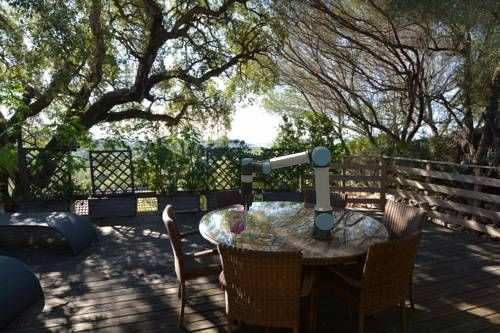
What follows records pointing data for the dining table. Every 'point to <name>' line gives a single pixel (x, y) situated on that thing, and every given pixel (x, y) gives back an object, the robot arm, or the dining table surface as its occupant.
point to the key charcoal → (266, 236)
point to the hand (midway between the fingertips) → (246, 215)
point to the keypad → (256, 239)
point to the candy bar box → (237, 220)
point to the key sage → (246, 233)
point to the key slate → (255, 234)
